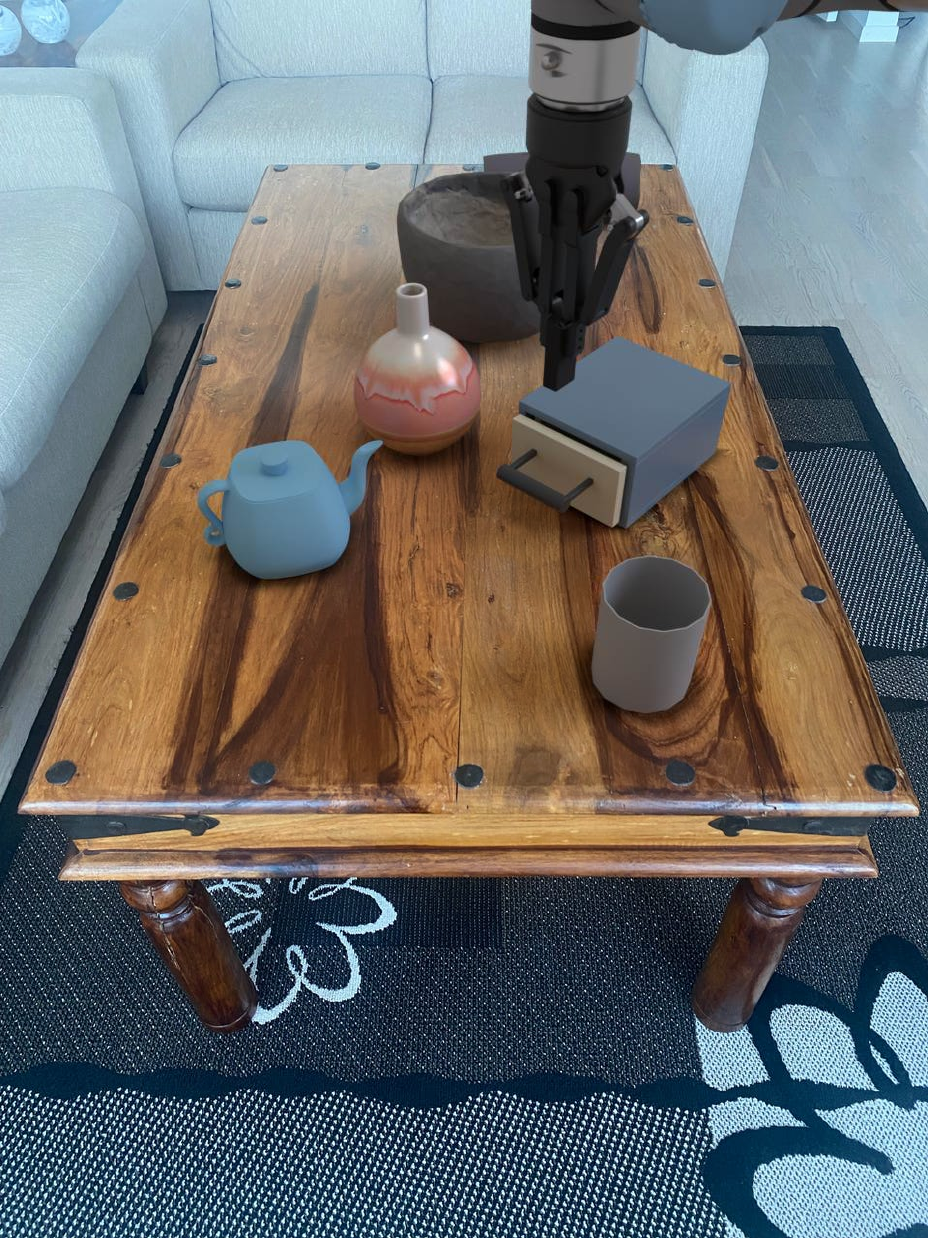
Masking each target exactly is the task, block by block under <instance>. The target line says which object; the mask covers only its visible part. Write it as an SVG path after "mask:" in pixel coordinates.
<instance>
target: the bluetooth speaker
mask: <svg viewBox="0 0 928 1238" xmlns="http://www.w3.org/2000/svg"><path fill="white" fill-rule="evenodd" d="M482 157H483V158H482V161H483V172H518V171H520V170H523V169H525V163H526V160H527V159H528V157H529V152H528V151H519V152H506V153H503V152H502V153H495V154H488V155H483V156H482ZM641 159H642V158H641V155H640V153H638V152H630V151H626V154H625V157H624V160H623V164H622V174H623V178H624V182H625V193H624V196H625V197H626V199H627V200H628V201H629V202H630V204H631V205H632V206H633V207H634V209H635V210H636V211H638V210H639V205H640V199H641V170H642V160H641ZM611 216H612V214H611V212H610V213H609V214H608V215H607V216H606V217H605V218H611Z"/></svg>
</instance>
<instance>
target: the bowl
mask: <svg viewBox="0 0 928 1238" xmlns="http://www.w3.org/2000/svg"><path fill="white" fill-rule="evenodd" d="M514 173H516V172H484V171H474V172H462V173H455V174H445V175H440V176H436V177H434V178H433V179H430V180H428V181H426V182H423V183H420V184H419V185H418V186H416V187H415V188H414V189H412V190H410V191H409V192H407V193H406V194H405V195H404V197H403V198H402V199H401V201H400V202H399V203H398V208H397V214H396V232H397V233H396V234H397V240H398V241H397V242H398V247H399V252H400V253H399V254H400V262H401V269H402V272H403V276H404V280H405V284H407V283H418V284H421V285H423V286H424V287H425V288H426V289H427V297H428V310H429V323H430V324H432V325H433V327H435V328H437V329H439V330H441V331H443V332H445V333H447V334H448V335H450V336H451V337H453V338H454V339H458V340H461V341H464V342H465V341H466V342H472V343H476V344H497V343H507V342H517V341H521V340H525V339H527V338H530V337H532V336H535V335H537V334H540V318H541V314H540V313H539V311H538V306H537V305H536V304H535V303H534V302H532V301H530V302H527V301H525V300H524V299H523V297H522V294H521V287H520V280H519V273H518V267H517V260H516V253H515V246H514V240H513V233H512V226H511V220H510V213H509V208H508V206H507V203H506V201H505V199H504V196H503V194H502V191H501V188H500V181H501V180H502V179H503V178H505V177H507V176H510V175H512V174H514ZM534 282H535V279H534ZM562 310H563V306H562Z"/></svg>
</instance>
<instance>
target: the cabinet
mask: <svg viewBox="0 0 928 1238" xmlns="http://www.w3.org/2000/svg"><path fill="white" fill-rule="evenodd" d="M731 388H732V382H731V381H728V380H726V379H723V378H721V377H718V376H716V375H714V374H711V373H709V372H707V371H704V370H701V369H699V368H697V367H694V366H692V365H690V364H687V363H684V362H682V361H681V360H677V359H675V358H672V357H670V356H668V355H665V354H663V353H660V352H658V351H656V350H654V349H651V348H649V347H647V346H645V345H641V344H639V343H636V342H634V341H631V340H629V339H627V338H625V337H622V336H619V335H616V336H614V337H613V338H611V339H610V340H608V341H607V342H605V343H604V344H602V345H601V346H599V347H598V348H596V349H595V350H594V351H592V352H590V353H589V354H587V355H585V356H584V357H583V358H581V359H580V360H578V361H576V368H575V379H574V380H573V381H572V382H570V383H569V384H567V385H566V386H564V387H563V388H561V389H560V390H558V391H557V392H554V391H552V390H550V389H548V388H546V387H544V386H543V384H542V385H541V386H539V387H537V388H536V389H535V390H533V391H532V392H530V393H529V394H527V395H526V396H524V397H522V398H521V399H520V400H518V415H519V414H521V415H524V416H526V417H528V418H530V419H532V420H534V421H535V417H537V418H540V419H542V420H544V421H546V422H548V423H550V424H552V425H554V426H556V427H558V428H560V429H562V430H564V431H566V432H568V433H570V434H572V435H574V436H576V437H578V438H580V439H582V440H584V441H586V442H588V443H590V444H593V445H595V446H597V447H599V448H601V449H603V450H605V451H607V452H609V453H611V454H613V455H615V456H617V457H619V458H621V459H623V460H625V461H627V462H628V466H627V473H626V480H625V487H624V494H623V500H622V507H621V510H620V517H619V522H618V523H617V524H616V525H617V526H619V527H621V528H623V529H624V530H627V529H628V528H629V527H630V526H631V525H633V524H634V523H635V522H636V521H637V520H638V519H640V518H641V517H642V516H643V515H645V514H646V513H647V512H649V510H651V509H652V508H653V507H654V506H655V505H656V504H658V503H659V502H660V501H661V500H662V499H663V498H664V497H666V496H667V495H668V494H669V493H671V492H672V491H673V490H674V489H675V488H676V487H677V486H678V485H680V484H681V483H682V482H683V481H684V480H685V479H687V478H688V477H689V476H690V475H691V474H693V473H694V472H695V471H696V470H697V469H699V468H700V467H701V466H702V465H703V464H704V463H706V462H707V461H708V460H709V459H710V458H712V456H714V455H715V454H716V452H717V448H718V444H719V439H720V435H721V431H722V427H723V422H724V418H725V415H726V414H725V413H726V409H727V405H728V400H729V396H730V392H731Z"/></svg>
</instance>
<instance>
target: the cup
mask: <svg viewBox="0 0 928 1238" xmlns="http://www.w3.org/2000/svg"><path fill="white" fill-rule="evenodd" d="M600 593H601V594H600V599H599V601H600V602H599V608H598V615H597V617H598V618H597V622H596V628H595V629H596V630H595V637H594V644H593V651H592V659H591V664H590V665H591V675H592V676H591V677H592V684H594V686H595V687H596V689H597V690H598V691H599V693H600V694H601V696H602V697H603V698H604V699H605V700H606V701H609V703H612V704H613V705H615V706H617V707H619V708H620V709H622V710H623V711H630V712H637V713H641V714H653V713H656V712H661V711H668V710H670V709H671V708H672V707H673V706H675V705H677V704H678V703H679V702H681V701H682V700H683V699H684V698H685V695H686V693H687V691H688V689H689V686H690V684H691V680H692V678H693V677H692V676H693V673H694V669H695V667H696V666H695V665H696V662H697V659H698V655H699V650H700V646H701V643H702V639H703V635H704V631H705V629H706V625H707V621H708V617H709V613H710V608H711V605H712V602H713V600H712V595H711V592H710V588H709V585H708V582H706V580H705V579H703V577H702V576H701V575H700V574H699V573H698V572H697V571H696V569H695V568H692V567H691V566H689V565H687V564H685V563H683V562H681V561H679V560H677V559H674V558H671V557H670V558H669V557H663V556H656V555H644V556H637V557H632V558H631V557H630V558H627V559H625V560H624V561H622V562H620V563H619V564H617V565H615V566H614V567H612V568H610V570H609V571H608V574H607V576H606V577H605V579H604V581H603V583H602V587H601V592H600Z"/></svg>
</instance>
